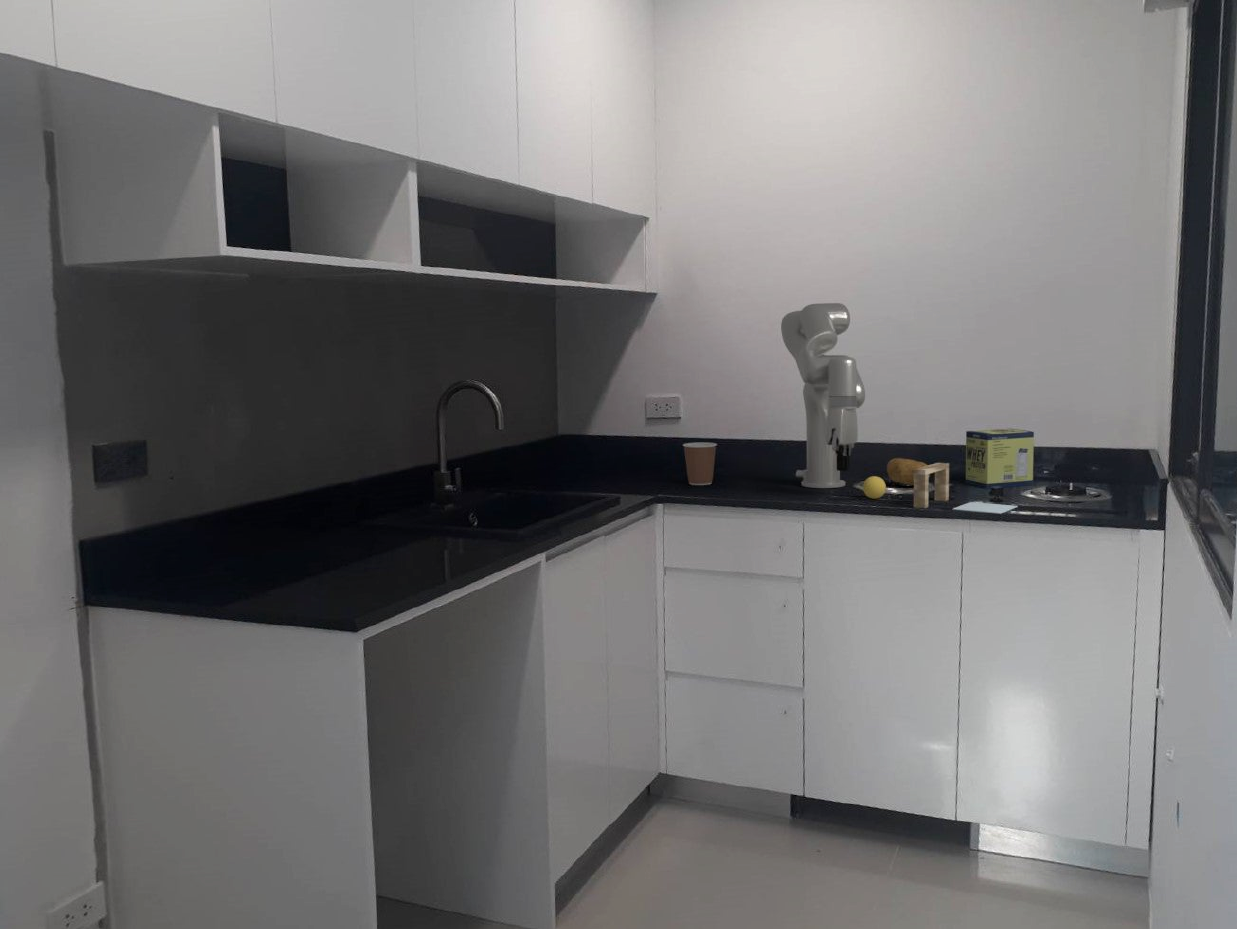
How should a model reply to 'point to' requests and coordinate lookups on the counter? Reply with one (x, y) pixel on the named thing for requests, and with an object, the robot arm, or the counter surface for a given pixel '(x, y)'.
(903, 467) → the potato
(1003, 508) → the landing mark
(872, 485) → the ball
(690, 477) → the coffee cup
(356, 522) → the counter surface
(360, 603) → the counter surface
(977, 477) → the protein box
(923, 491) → the bridge
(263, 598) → the counter surface
